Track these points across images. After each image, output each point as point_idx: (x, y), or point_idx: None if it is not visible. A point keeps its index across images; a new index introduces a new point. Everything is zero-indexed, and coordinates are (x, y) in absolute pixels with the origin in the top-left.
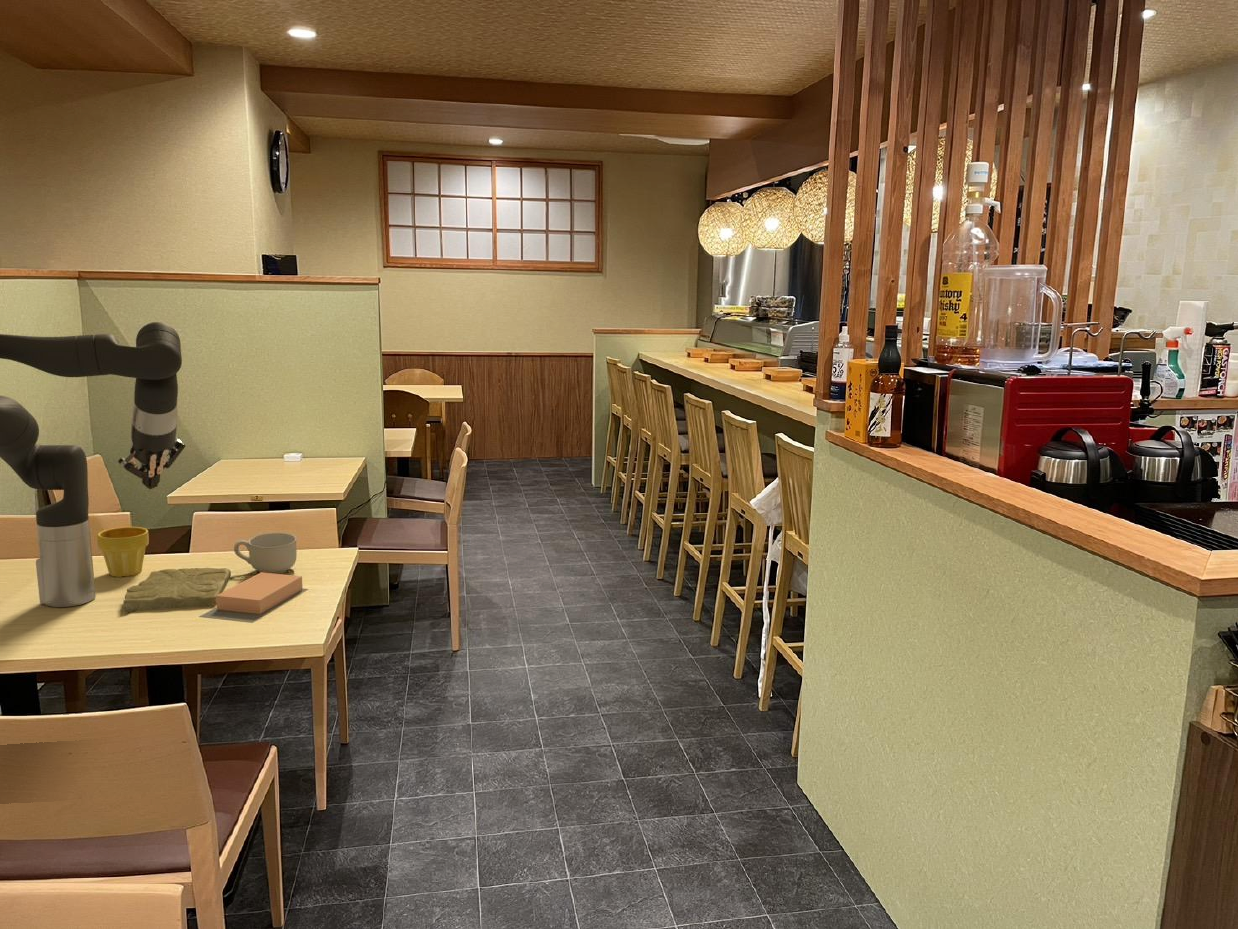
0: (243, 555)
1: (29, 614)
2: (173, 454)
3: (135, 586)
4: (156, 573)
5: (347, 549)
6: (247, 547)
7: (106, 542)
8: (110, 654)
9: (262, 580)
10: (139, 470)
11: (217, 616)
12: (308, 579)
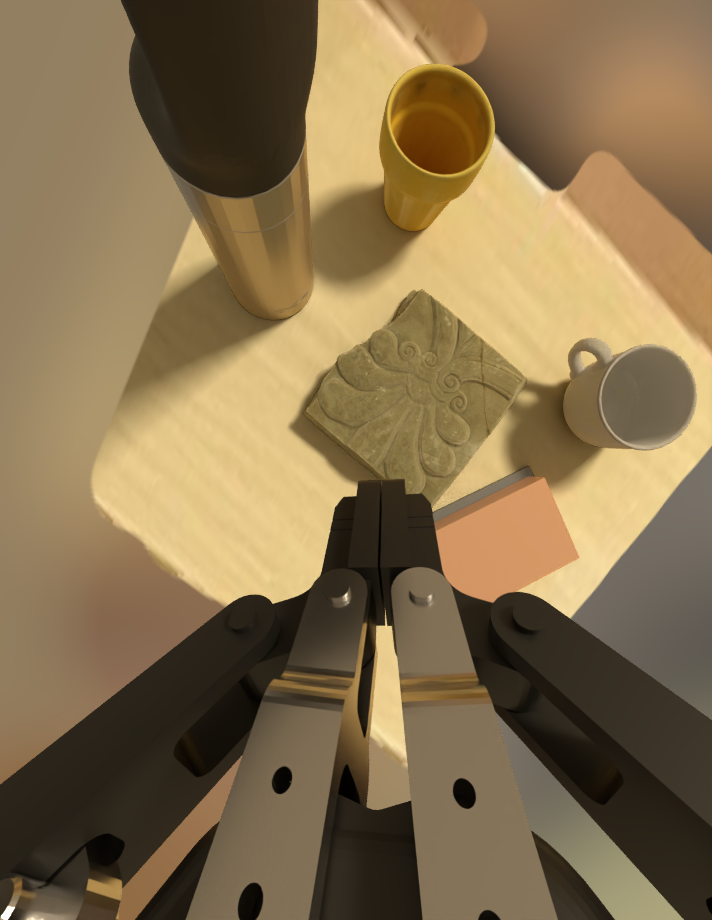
0: (577, 362)
1: (192, 297)
2: (649, 876)
3: (354, 356)
4: (421, 308)
5: None
6: (596, 367)
7: (387, 149)
8: (199, 587)
9: (519, 524)
10: (199, 800)
11: None
12: (599, 499)
